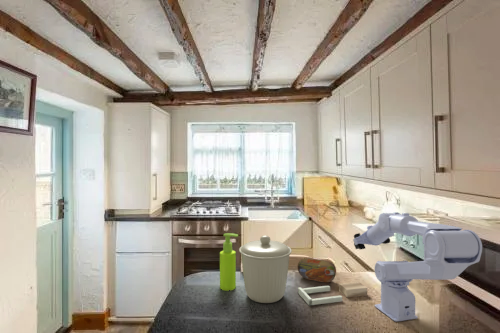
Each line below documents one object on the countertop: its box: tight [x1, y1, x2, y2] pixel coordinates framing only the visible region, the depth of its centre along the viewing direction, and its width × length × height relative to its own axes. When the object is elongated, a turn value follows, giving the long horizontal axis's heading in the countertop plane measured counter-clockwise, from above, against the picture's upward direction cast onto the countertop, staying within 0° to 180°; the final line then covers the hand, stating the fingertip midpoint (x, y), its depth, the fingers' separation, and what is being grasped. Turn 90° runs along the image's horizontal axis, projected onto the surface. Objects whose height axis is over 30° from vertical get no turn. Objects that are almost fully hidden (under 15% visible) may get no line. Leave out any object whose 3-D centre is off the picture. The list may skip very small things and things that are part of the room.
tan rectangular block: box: [338, 281, 368, 298], centre depth 102 cm, size 5×8×3 cm, turn 102°
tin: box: [297, 256, 337, 283], centre depth 113 cm, size 15×3×8 cm, turn 62°
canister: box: [238, 235, 293, 304], centre depth 99 cm, size 18×18×21 cm
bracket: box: [297, 285, 343, 306], centre depth 98 cm, size 9×12×2 cm
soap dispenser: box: [219, 232, 239, 292], centre depth 106 cm, size 6×7×20 cm
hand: (364, 244), depth 109 cm, fingers open, 7 cm apart
